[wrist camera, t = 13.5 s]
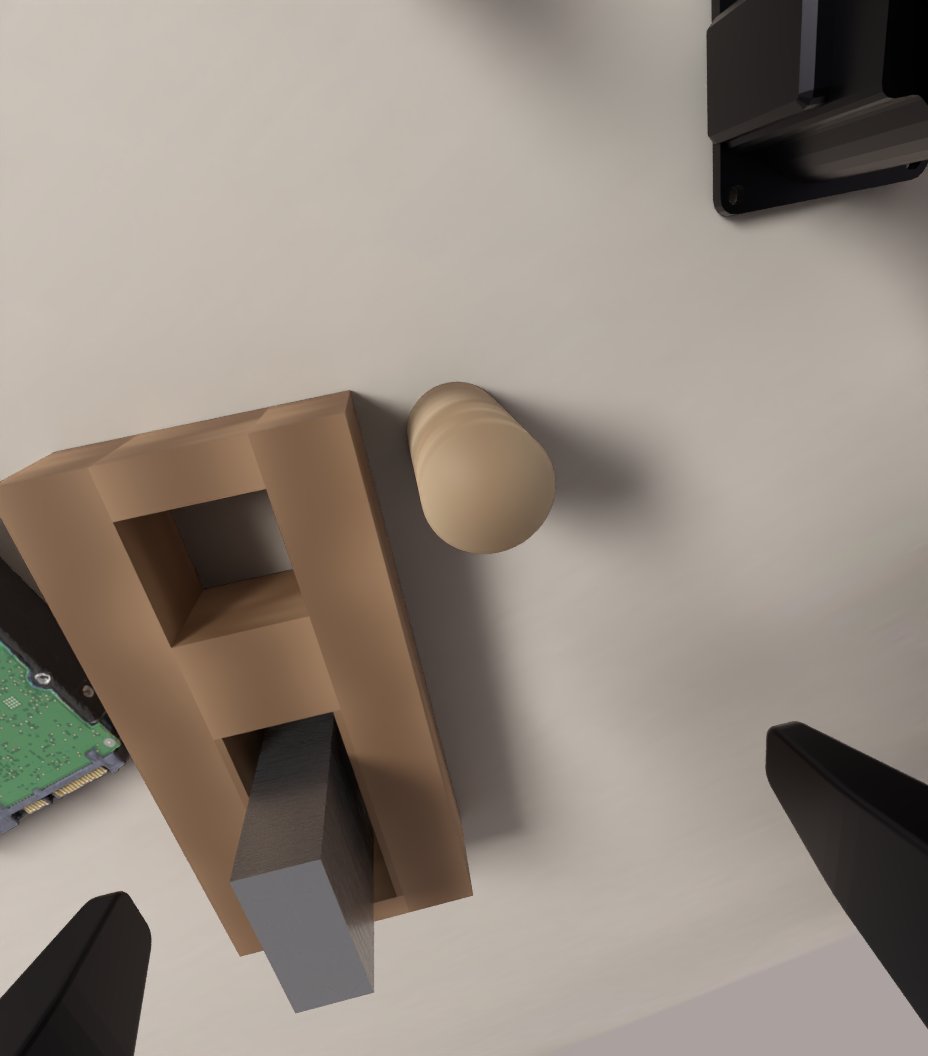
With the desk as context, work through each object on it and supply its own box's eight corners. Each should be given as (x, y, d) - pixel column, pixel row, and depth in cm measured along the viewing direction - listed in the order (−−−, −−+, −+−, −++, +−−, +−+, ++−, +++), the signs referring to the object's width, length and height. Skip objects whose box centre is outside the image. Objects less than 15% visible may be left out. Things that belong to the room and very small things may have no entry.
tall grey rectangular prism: (336, 682, 22) (320, 859, 16) (373, 795, 25) (373, 992, 18) (273, 696, 22) (229, 882, 15) (317, 810, 25) (295, 1013, 18)
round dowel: (495, 372, 19) (546, 410, 13) (510, 467, 20) (562, 537, 15) (397, 393, 19) (407, 440, 13) (418, 487, 20) (435, 566, 14)
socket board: (349, 390, 18) (344, 413, 15) (460, 819, 26) (473, 895, 23) (55, 452, 18) (-15, 489, 15) (256, 871, 25) (240, 956, 22)
